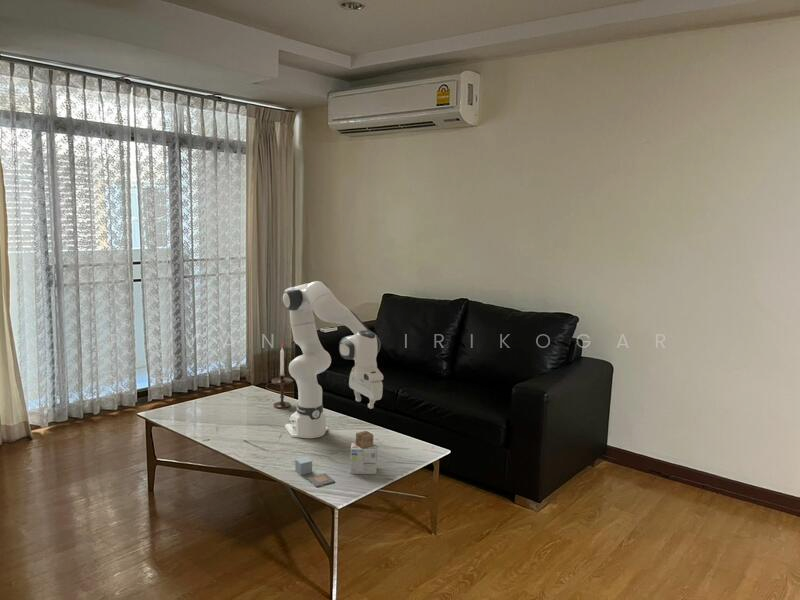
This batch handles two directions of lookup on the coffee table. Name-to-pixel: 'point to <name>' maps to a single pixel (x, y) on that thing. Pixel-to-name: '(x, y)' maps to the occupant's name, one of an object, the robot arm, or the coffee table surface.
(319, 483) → the tile
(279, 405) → the candlestick
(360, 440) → the walnut block
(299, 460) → the slate block
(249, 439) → the coffee table surface
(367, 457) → the light bulb box
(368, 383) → the robot arm
